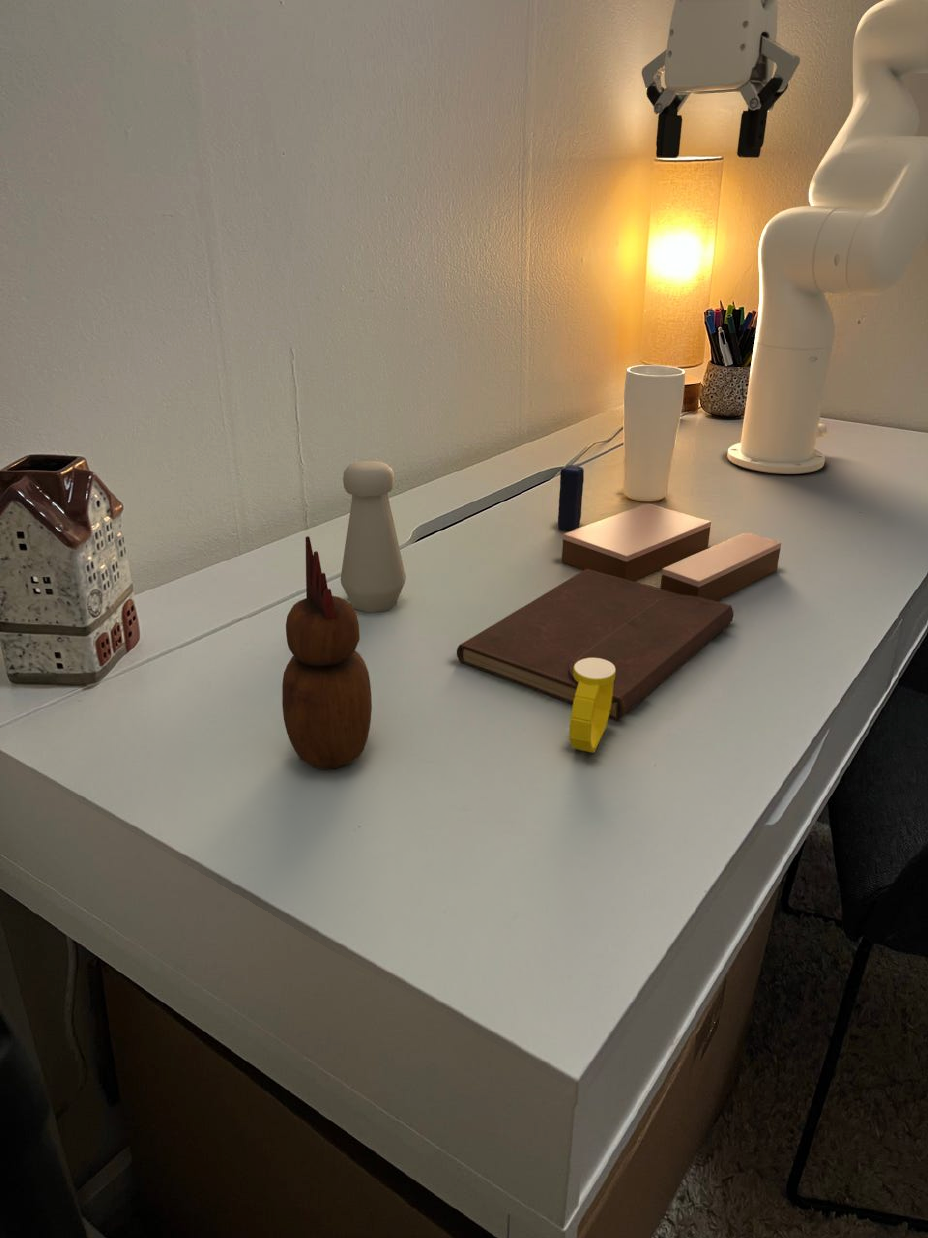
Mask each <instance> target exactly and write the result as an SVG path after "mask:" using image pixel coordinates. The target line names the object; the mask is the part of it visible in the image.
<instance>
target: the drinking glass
mask: <svg viewBox="0 0 928 1238" xmlns="http://www.w3.org/2000/svg"><path fill="white" fill-rule="evenodd" d="M625 374H626V375H625V381H624V390H623V403H622V409H623V410H622V420H623V421H622V422H623V423H622V426H623V427H622V428H623V429H622V430H623V433H622V435H623V436H622V437H623V441H622V443H623V476H622V477H623V478H622V493H623V495H624V496H625V497H626V498H628V499H629V500H632V501H636V502H647V503H650V502H657V501H661V500H664V498H666V496H667V494H668V491H669V481H670V474H671V469H672V463H673V459H674V452H675V449H676V442H677V438H678V433H679V428H680V423H681V417H682V411H683V405H684V398H685V384H686V371H685V370H684V369H682V368H679V367H676V366H671V365H661V364H642V365H634V366H631V367H628V368H627V369H626V372H625Z"/></svg>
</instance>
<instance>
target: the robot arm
mask: <svg viewBox="0 0 928 1238" xmlns="http://www.w3.org/2000/svg"><path fill="white" fill-rule="evenodd" d="M671 12H672V13H671V17H670V23H669V29H668V36H667V41H666V49H665V50H664V51H663V52H661V53H660V54H659V55H657V56H656V57H655V58H653V59H652V60H651V61H650V62H648V63H647V64H646V65H644V66H643V68H642V69H641V77H642V79H643V83H644V84H643V85H644V88H645V89H646V92H645V93H646V94H645V95H646V97H647V99H648V101H649V102H650V104H651V105H652V106H653V112H654V114H655V115H658V117H657V130H656V139H655V140H656V142H655V145H656V146H655V147H656V150H655V151H656V152H655V156H656V158H658V159H677V158H678V157H679V156H680V146H681V136H682V128H683V126H682V125H683V116H682V114H678V113H679V111H680V110H681V108H682V107H683V105H685V103H686V101H687V100H688V99H689V96H690V95H691V94H694V95H695V94H696V95H711V94H712V95H713V94H729V93H731V94H732V93H740V94H741V96H742V99H743V100H744V102H745V104H746V105H747V110H743V111H742V113H741V117H740V125H739V126H740V127H739V134H738V142H737V151H736V154H737V155H736V156H737V157H739V158H746V159H747V158H749V159H757V158H760V155H761V151H762V149H761V148H762V147H763V145H764V142H765V135H766V128H767V120H768V113H770V112H771V111H772V110H773V109H774V107H775V104H776V103H777V101H778V100H779V99H780V98H781V97H782V96H783V95H784V93H785V92H787V89H788V87H789V82H790V81H791V80H792V78H793V76H794V74H795V73H796V70H797V69H798V67H799V65H800V63H801V57H800V56H799V55H798V54H797V53H795V52H793V51H792V50H790V49H789V48H787V47H785V46H784V45H782V44H781V43H779V42H777V33H778V0H674V2H673V7H672V11H671ZM775 65H776V69H775V72H774V68H775ZM663 73H664V74H663ZM773 74H774V75H773ZM917 74H918V75H919V74H921V75H922V74H928V0H882V1H879V2H877V3H876V4H874V5H873V6H871V7H870V8H869V9H868V10H867V11H865V12H864V14H863V15H862V17H861V18H860V20H859V23H858V25H857V27H856V30H855V34H854V37H853V43H852V106H851V109H850V110H851V111H850V112H849V115H848V116H847V118H846V120H845V121H844V124H843V125H842V127H841V128H840V129H839V132H838V133H837V135H836V136H835V138H834V140H833V142H832V143H831V144H830V146H829V147H828V149H827V151H826V153H825V154H824V156H823V158H822V159H821V160H820V162H819V163H818V165H817V167H816V169H815V171H814V174H813V175H812V179H811V181H810V184H809V189H808V201H809V204H810V205H803V206H802V205H801V206H794V207H790V208H787V209H784V210H781V211H779V213H776V214H775V215H774V216H773V217H772V218H771V219H770V220H769V221H768V222H767V223H766V225H765V226H764V229H763V230H762V233H761V236H760V240H759V245H758V273H759V301H758V302H759V303H758V313H757V322H756V328H755V329H756V330H755V336H754V337H755V338H754V344H753V352H752V356H751V357H752V358H751V365H750V373H749V378H748V379H749V380H748V387H747V394H746V402H745V409H744V416H743V424H742V431H741V438H740V442H737V443H735V444H732V445H731V446H730V447H729V448H727V449H728V450H727V453H726V455H727V456H726V458H727V459H728V461H729V462H731V463H732V464H734V465H736V466H739V467H742V468H744V469H747V470H751V471H756V472H761V473H762V472H763V473H769V474H781V475H782V474H783V475H797V474H808V473H813V472H816V471H819V470H821V469H822V468H823V467H824V466H825V461H826V456H825V455H824V454H823V453H822V452H821V451H819V450H817V449H815V448H816V441H817V440H818V439H821V438H824V437H826V435H827V433H828V429H827V426H826V425H825V424H824V423H820V420H821V413H822V407H823V402H824V395H825V390H826V385H827V379H828V374H829V368H830V362H831V355H832V350H833V345H834V340H835V331H836V329H835V327H836V325H835V318H834V315H833V312H832V310H831V306H830V304H829V302H828V299H827V297H826V294H825V293H828V294H829V293H831V294H841V295H851V296H862V297H863V296H864V297H873V296H874V297H875V296H880V295H883V294H885V293H887V292H889V291H890V290H892V289H893V288H894V287H895V286H896V285H897V284H898V282H899V281H900V280H901V279H902V277H903V276H904V274H905V272H906V271H907V269H908V268H909V266H910V264H911V262H912V261H913V259H914V257H915V256H916V254H917V253H918V250H919V249H920V248H921V245H922V244H923V242H924V240H925V239H926V237H927V236H928V136H926V135H916V134H917V132H918V130H919V127H920V114H919V109H918V106H917V104H916V102H915V100H914V98H913V95H912V94H911V93H910V91H909V89H907V87H906V86H905V85H904V82H903V81H904V80H903V75H917ZM662 75H663V76H664V78H663V79H664V85H665V88H664V87H663V86H662V79H661V78H662Z"/></svg>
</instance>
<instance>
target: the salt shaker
mask: <svg viewBox="0 0 928 1238" xmlns="http://www.w3.org/2000/svg"><path fill="white" fill-rule="evenodd" d="M342 476H343V477H342V483H343V488H344V490H345V492H346V493H347V494H349V495H350V496H351V502H350V509H349V516H348V523H347V531H346V537H345V545H344V551H343V552H344V553H343V560H342V567H341V574H340V584H341V587H342V588H343V591H344V592H345V594H346V596H347V598H348V600H349V603H350V604H351V606H352V607H353V608H354V610H357V611H358V610H359V611H362V612H365V613H369V614H371V613H378V612H384V611H385V612H386V611H390V610H391V609H392V608H393V607H394V605H396V603H398V600H399V599H400V596H401V593H402V591H403V589H404V586H405V584H406V579H407V575H406V572H405V565H404V561H403V557H402V553H401V548H400V544H399V539H398V535H397V529H396V527H395V522H394V521H395V520H394V516H393V512H392V507H391V504H390V503H391V502H390V499H389V493H391V492H392V490H393V489H394V486H395V474H394V470H393V469H392V468H391V467H390V466H389V465H388V464H387V463H385V462H381V461H378V460H377V461H376V460H361V461H356V462H352V463H350V464H349V465H348V466H347V467H346V468H345V469H344V470H343V475H342Z"/></svg>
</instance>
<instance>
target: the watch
mask: <svg viewBox="0 0 928 1238" xmlns="http://www.w3.org/2000/svg"><path fill="white" fill-rule="evenodd" d="M615 672H616V669H615V666H614V665H613V664H612V663H611V662H609V661H607V660H604V659H601V658H586V659H582V660H580V661H578V662H577V663H576V664H575V665H574V669H573V676H574V679H575V680H576V681H577V682H579V683H578V686H577V689H576V693H575V698H574V701H573V704H572V707H571V713H570V719H569V741H570V746H571V749H574V750H578V751H583V752H587V753H592V754H594V753H596V750H597V748H598V745H599V743H600V742H601V740H602V737H603V735H604V733H605V732H606V729H607V726H608V722H609V719H610V718H609V714H610V709H611V703H612V696H613V683H614V680H615Z"/></svg>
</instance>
